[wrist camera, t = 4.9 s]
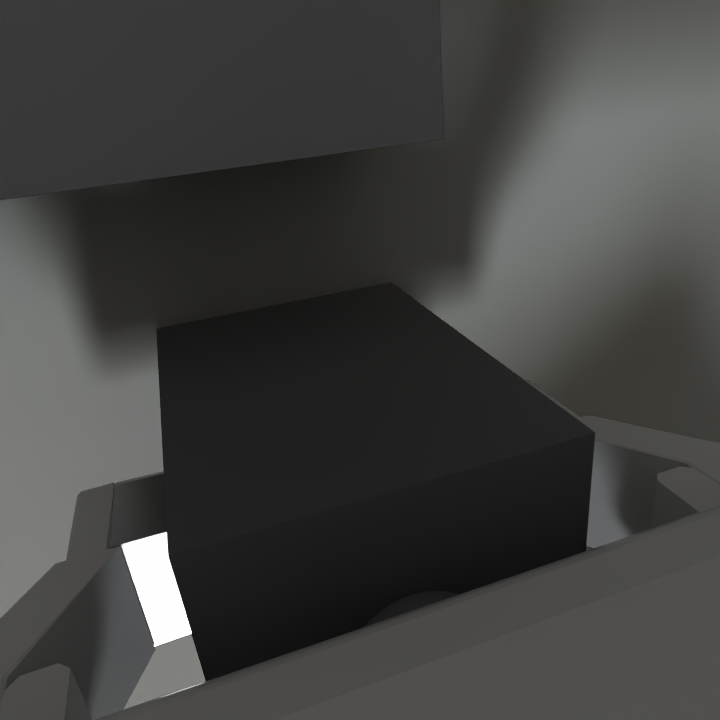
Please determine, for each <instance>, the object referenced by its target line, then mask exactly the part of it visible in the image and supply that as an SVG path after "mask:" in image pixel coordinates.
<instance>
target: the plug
mask: <svg viewBox="0 0 720 720" xmlns="http://www.w3.org/2000/svg"><path fill="white" fill-rule="evenodd" d="M156 330H157V349H158V369H159V388H160V408H161V427H162V447H163V466H164V486H165V505H166V525H167V544H168V557H169V560H170V564H171V567H172V570H173V574H174V577H175V580H176V584H177V587H178V590H179V593H180V597H181V600H182V603H183V607H184V610H185V613H186V617H187V620H188V623H189V627H190V630H191V633H192V637H193V640H194V643H195V647H196V650H197V653H198V657H199V660H200V663H201V667H202V670H203V673H204V676H205V680H206V681H209V680H212V679H215V678H218V677H220V676H223V675H226V674H229V673H232V672H235V671H238V670H241V669H244V668H247V667H250V666H253V665H255V664H258V663H261V662H264V661H267V660H270V659H273V658H276V657H279V656H282V655H285V654H288V653H290V652H293V651H296V650H299V649H302V648H305V647H308V646H311V645H314V644H317V643H320V642H323V641H325V640H328V639H331V638H334V637H337V636H340V635H343V634H346V633H349V632H352V631H355V630H357V629H360V628H363V627H366V626H369V625H372V624H375V623H378V622H381V621H384V620H387V619H390V618H392V617H395V616H398V615H401V614H404V613H407V612H410V611H413V610H416V609H419V608H422V607H425V606H427V605H430V604H433V603H436V602H439V601H442V600H445V599H448V598H451V597H454V596H457V595H460V594H462V593H465V592H468V591H471V590H474V589H477V588H480V587H483V586H486V585H489V584H492V583H495V582H497V581H500V580H503V579H506V578H509V577H512V576H515V575H518V574H521V573H524V572H527V571H529V570H532V569H535V568H538V567H541V566H544V565H547V564H550V563H553V562H556V561H559V560H561V559H564V558H567V557H570V556H573V555H576V554H579V553H582V552H585V551H586V543H587V531H588V518H589V506H590V493H591V481H592V468H593V456H594V443H595V432H594V431H593V430H591V429H590V428H589V427H587V426H586V425H585V424H583V423H582V422H581V421H579V420H578V419H576V418H575V417H574V416H572V415H571V414H570V413H568V412H567V411H566V410H564V409H563V408H561V407H560V406H559V405H557V404H556V403H555V402H553V401H552V400H551V399H549V398H548V397H546V396H545V395H544V394H542V393H541V392H540V391H538V390H537V389H536V388H534V387H533V386H531V385H530V384H529V383H527V382H526V381H525V380H523V379H522V378H521V377H519V376H518V375H517V374H515V373H514V372H512V371H511V370H510V369H508V368H507V367H506V366H504V365H503V364H502V363H500V362H499V361H497V360H496V359H495V358H493V357H492V356H491V355H489V354H488V353H487V352H485V351H484V350H482V349H481V348H480V347H478V346H477V345H476V344H474V343H473V342H472V341H470V340H469V339H467V338H466V337H465V336H463V335H462V334H461V333H459V332H458V331H457V330H455V329H454V328H453V327H451V326H450V325H448V324H447V323H446V322H444V321H443V320H442V319H440V318H439V317H438V316H436V315H435V314H433V313H432V312H431V311H429V310H428V309H427V308H425V307H424V306H423V305H421V304H420V303H418V302H417V301H416V300H414V299H413V298H412V297H410V296H409V295H408V294H406V293H405V292H403V291H402V290H401V289H399V288H398V287H397V286H395V285H394V284H393V283H388V284H383V285H378V286H373V287H368V288H363V289H358V290H353V291H348V292H343V293H338V294H333V295H327V296H322V297H317V298H312V299H307V300H302V301H297V302H292V303H287V304H282V305H277V306H272V307H267V308H262V309H257V310H252V311H246V312H241V313H236V314H231V315H226V316H221V317H216V318H211V319H206V320H201V321H196V322H191V323H186V324H181V325H176V326H170V327H165V328H160V329H156Z"/></svg>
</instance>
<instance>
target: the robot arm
mask: <svg viewBox="0 0 720 720" xmlns="http://www.w3.org/2000/svg"><path fill="white" fill-rule="evenodd" d="M523 380H525V379H523ZM525 381H526V382H527V383H529V384H530V385H531V386H533V387H534V388H536V389H537V390H538V391H540V392H541V393H542V394H544V395H545V396H546V397H548V398H549V399H551V400H552V401H553V402H555V403H556V404H557V405H559V406H560V407H561V408H563V409H564V410H566V411H567V412H568V413H570V414H571V415H572V416H574V417H575V418H576V419H578V420H579V421H581V422H582V423H583V424H585V425H586V426H587V427H589V428H590V429H591V430H593V431H594V432H595V443H594V456H593V468H592V481H591V493H590V506H589V518H588V531H587V543H586V545H587V546H589V547H591V548H593V549H591V550H588V551H585V552H582V553H579V554H576V555H573V556H570V557H567V558H564V559H561V560H559V561H556V562H553V563H550V564H547V565H544V566H541V567H538V568H535V569H532V570H529V571H527V572H524V573H521V574H518V575H515V576H512V577H509V578H506V579H503V580H500V581H497V582H495V583H492V584H489V585H486V586H483V587H480V588H477V589H474V590H471V591H468V592H465V593H462V594H460V595H457V596H454V597H451V598H448V599H445V600H442V601H439V602H436V603H433V604H430V605H427V606H425V607H422V608H419V609H416V610H413V611H410V612H407V613H404V614H401V615H398V616H395V617H392V618H390V619H387V620H384V621H381V622H378V623H375V624H372V625H369V626H366V627H363V628H360V629H357V630H355V631H352V632H349V633H346V634H343V635H340V636H337V637H334V638H331V639H328V640H325V641H323V642H320V643H317V644H314V645H311V646H308V647H305V648H302V649H299V650H296V651H293V652H290V653H288V654H285V655H282V656H279V657H276V658H273V659H270V660H267V661H264V662H261V663H258V664H255V665H253V666H250V667H247V668H244V669H241V670H238V671H235V672H232V673H229V674H226V675H223V676H220V677H218V678H215V679H212V680H209V681H206V682H203V683H200V684H197V685H194V686H191V687H188V688H185V689H183V690H180V691H177V692H174V693H171V694H168V695H165V696H162V697H159V698H156V699H153V700H150V701H148V702H145V703H142V704H139V705H136V706H133V707H130V708H127V709H124V707H125V705H126V703H127V701H128V699H129V698H130V696H131V694H132V692H133V690H134V688H135V686H136V685H137V683H138V681H139V679H140V677H141V675H142V673H143V671H144V670H145V668H146V666H147V664H148V662H149V660H150V658H151V657H152V655H153V653H154V651H155V647H154V646H156V645H159V644H162V643H165V642H168V641H171V640H173V639H176V638H179V637H182V636H185V635H188V634H191V630H190V627H189V623H188V620H187V617H186V613H185V610H184V607H183V603H182V600H181V597H180V593H179V590H178V587H177V584H176V580H175V577H174V574H173V570H172V567H171V564H170V560H169V557H168V544H167V525H166V505H165V486H164V471H163V472H159V473H155V474H151V475H146V476H142V477H138V478H133V479H129V480H125V481H121V482H117V483H116V484H115V483H111V484H107V485H103V486H100V487H96V488H92V489H88V490H85V491H82V492H80V493H79V495H78V496H77V501H76V507H75V512H74V518H73V524H72V529H71V535H70V541H69V546H68V552H67V558H66V561H63V562H60V563H56V564H55V565H54V566H53V567H52V568H51V569H50V570H49V571H48V572H47V573H46V574H45V575H44V576H43V577H42V578H41V579H40V580H39V581H38V582H37V583H36V584H35V585H34V586H33V587H32V588H31V589H30V590H29V591H28V592H27V593H26V594H25V595H24V596H23V597H22V598H21V599H20V600H19V601H18V602H17V603H16V604H15V605H14V606H13V607H12V608H11V609H10V610H9V611H8V612H7V613H6V614H5V615H4V616H3V617H2V618H1V619H0V720H720V443H717V442H712V441H707V440H702V439H698V438H693V437H688V436H684V435H679V434H674V433H670V432H665V431H660V430H656V429H651V428H646V427H642V426H637V425H632V424H628V423H623V422H618V421H614V420H609V419H604V418H599V417H595V416H590V415H587V416H583V417H580V416H578V415H577V414H575V413H574V412H573V411H571V410H570V409H568V408H567V407H566V406H564V405H563V404H561V403H560V402H559V401H557V400H556V399H554V398H553V397H552V396H550V395H549V394H547V393H546V392H545V391H543V390H542V389H540V388H539V387H538V386H536V385H535V384H534V383H532V382H531V381H529V380H525ZM123 709H124V710H123Z"/></svg>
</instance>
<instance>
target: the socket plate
mask: <svg viewBox="0 0 720 720" xmlns="http://www.w3.org/2000/svg"><path fill="white" fill-rule="evenodd" d="M440 139H444V121H443V92H442V64H441V36H440V8H439V0H0V200H4V199H11V198H19V197H26V196H33V195H40V194H48V193H55V192H62V191H69V190H77V189H84V188H91V187H99V186H106V185H113V184H120V183H128V182H135V181H142V180H149V179H157V178H164V177H171V176H178V175H186V174H193V173H200V172H207V171H215V170H222V169H229V168H237V167H244V166H251V165H258V164H266V163H273V162H280V161H287V160H295V159H302V158H309V157H316V156H324V155H331V154H338V153H345V152H353V151H360V150H367V149H374V148H382V147H389V146H396V145H404V144H411V143H418V142H425V141H433V140H440Z"/></svg>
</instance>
